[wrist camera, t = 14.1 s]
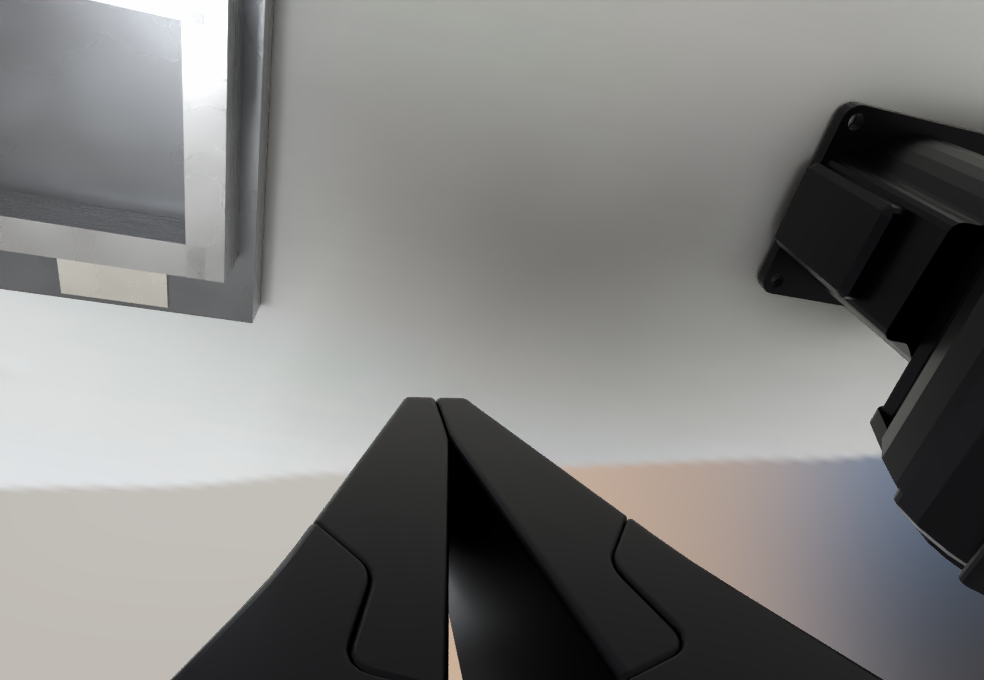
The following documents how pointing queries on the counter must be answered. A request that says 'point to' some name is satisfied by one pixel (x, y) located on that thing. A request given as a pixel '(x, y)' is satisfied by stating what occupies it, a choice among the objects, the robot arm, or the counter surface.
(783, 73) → the counter surface
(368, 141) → the counter surface
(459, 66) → the counter surface
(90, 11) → the grey shallow rectangular piece
